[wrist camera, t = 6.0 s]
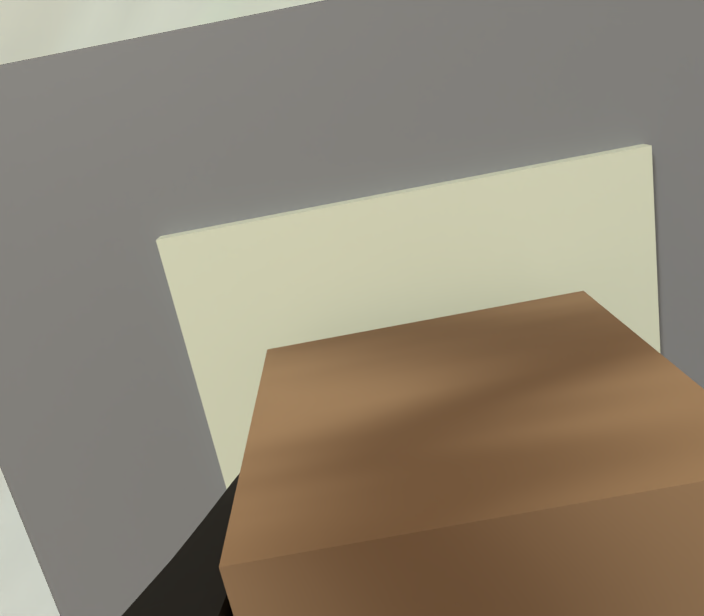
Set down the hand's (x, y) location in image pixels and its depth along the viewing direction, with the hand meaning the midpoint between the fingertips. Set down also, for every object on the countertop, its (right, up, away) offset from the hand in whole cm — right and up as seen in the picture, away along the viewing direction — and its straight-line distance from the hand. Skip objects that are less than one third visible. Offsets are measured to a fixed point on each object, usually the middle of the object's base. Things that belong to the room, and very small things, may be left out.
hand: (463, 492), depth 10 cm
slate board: (0, +2, +5) cm, 5 cm away
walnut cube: (0, 0, +2) cm, 2 cm away
